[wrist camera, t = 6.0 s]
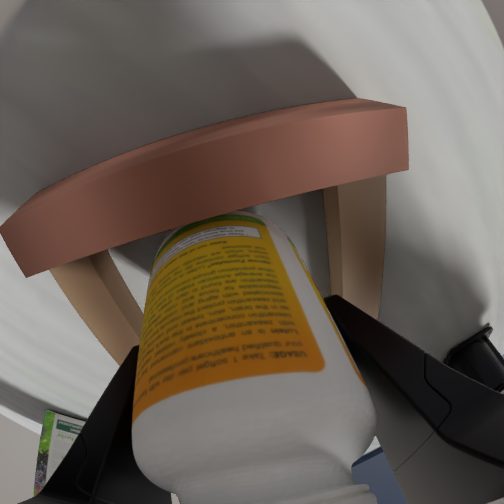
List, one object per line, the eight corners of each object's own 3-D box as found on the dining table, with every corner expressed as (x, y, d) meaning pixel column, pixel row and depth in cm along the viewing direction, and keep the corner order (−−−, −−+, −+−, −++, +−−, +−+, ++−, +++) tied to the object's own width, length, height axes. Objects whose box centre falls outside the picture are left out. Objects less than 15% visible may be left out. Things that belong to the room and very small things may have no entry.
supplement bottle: (129, 289, 11) (103, 562, 3) (205, 174, 9) (271, 612, 1) (239, 338, 13) (286, 554, 5) (323, 253, 11) (457, 497, 3)
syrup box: (107, 424, 19) (109, 579, 7) (109, 445, 22) (111, 571, 9) (45, 407, 17) (32, 558, 5) (56, 431, 20) (49, 555, 8)
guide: (358, 98, 9) (406, 107, 7) (353, 399, 22) (364, 427, 20) (36, 193, 9) (-2, 228, 7) (209, 437, 22) (212, 467, 19)
